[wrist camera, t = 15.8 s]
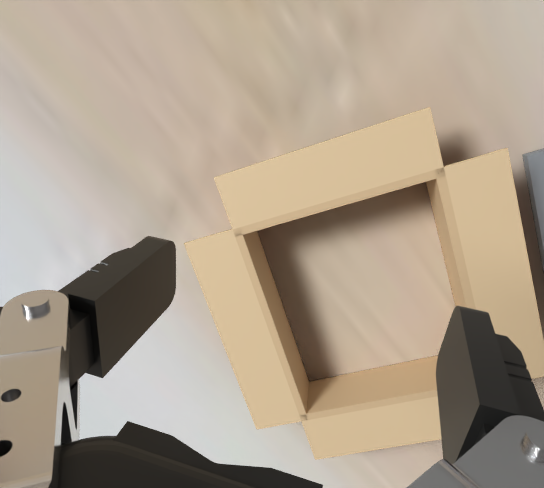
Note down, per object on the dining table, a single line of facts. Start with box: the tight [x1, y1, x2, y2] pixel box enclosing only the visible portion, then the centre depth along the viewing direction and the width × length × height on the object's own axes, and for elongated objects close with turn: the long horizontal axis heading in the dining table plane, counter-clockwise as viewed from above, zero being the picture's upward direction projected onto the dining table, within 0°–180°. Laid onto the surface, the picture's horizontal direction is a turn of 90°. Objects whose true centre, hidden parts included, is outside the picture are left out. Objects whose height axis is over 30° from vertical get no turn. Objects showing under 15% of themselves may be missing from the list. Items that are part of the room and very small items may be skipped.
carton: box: [184, 107, 544, 460], centre depth 34 cm, size 25×23×4 cm
